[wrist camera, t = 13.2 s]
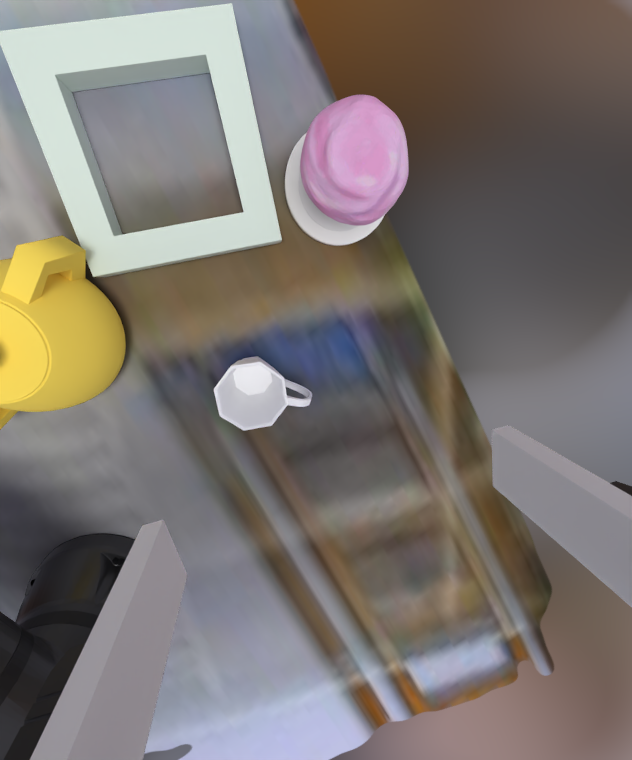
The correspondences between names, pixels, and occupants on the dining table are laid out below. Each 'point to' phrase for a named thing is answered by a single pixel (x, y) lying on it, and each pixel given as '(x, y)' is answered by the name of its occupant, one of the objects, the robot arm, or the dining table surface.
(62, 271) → the teapot
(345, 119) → the cupcake
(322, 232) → the plate
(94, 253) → the frame
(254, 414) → the cup
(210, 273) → the dining table surface
